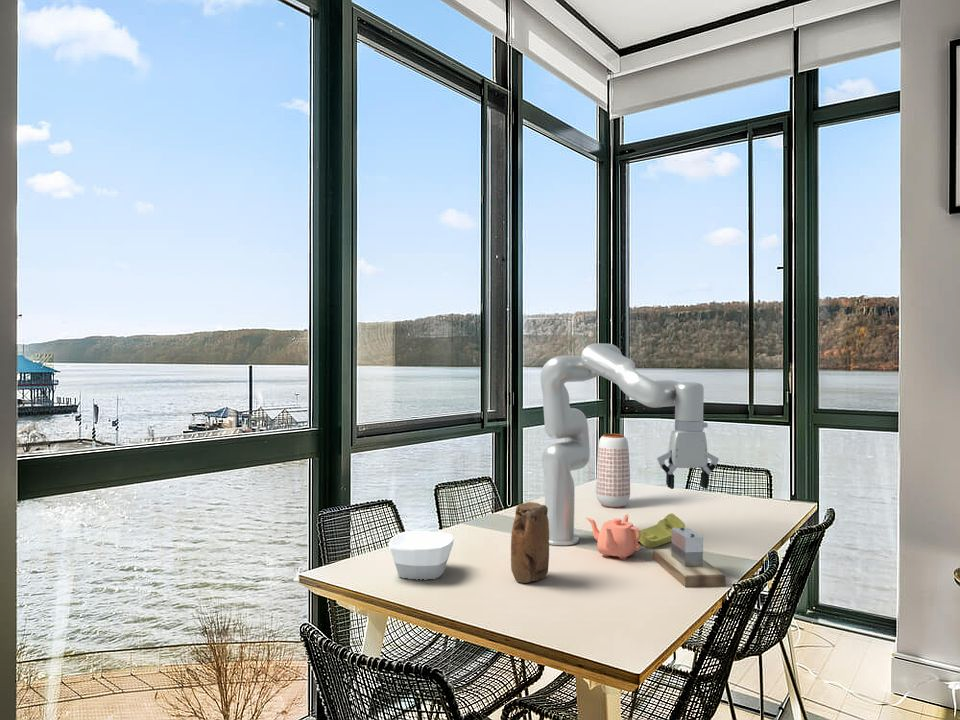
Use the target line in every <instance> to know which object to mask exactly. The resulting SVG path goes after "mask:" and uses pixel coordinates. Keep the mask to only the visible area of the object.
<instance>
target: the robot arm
mask: <svg viewBox="0 0 960 720" xmlns="http://www.w3.org/2000/svg"><path fill="white" fill-rule="evenodd" d="M600 376H601V377H602V378H604V379H606V380H609V381H610V382H611V383H613V384H616V385H617V386H618V387H619V389H620V390H621V391H622V392H623V394H625V395H626V396H627V397H629V398H631V399H632V400H633V401H636V402H637V403H640V404H642V405H643V406H646V407H648V408H651V409H652V408H654V409H655V408H663V407H665V408H666V407H668V408H669V407H675V408H674V430H671V432H670V436H669V441H668V449H667V452H666V453H664V454H662V455H660V456H659V457H657V458H656V459H657V462H658V465H660V468H661V469H662V470H663V471H664V473H665V475H666V477H665V478H666V479H665V484H666V486H667V488H668V489H671V490H673V489H675V475H674V472H675V471H676V469H677V468H678V469H697V468H698V469H701V471H702V472H701V473H700V487H701V488H703V489H705V490H707V489H709V488H708V486H709V485H710V475H711V474H712V471H713V470H715V468H716V466H717V464H718V463H719V460H720V459H719V457H717V456H715V455H713V454H712V453H709V451H708V444H707V443H708V442H707V441H708V440H707V437H706V432H705V431H704V430H705V428H708V426H709V425H708V422H705V421H704V398H705V395H704V393H705V392H704V391H705V390H704V385H703V384H702V383H700V382H693V381H692V382H687V381H686V382H685V381H684V382H682V381H676V380H670V379H669V380H667V379H666V380H662V379H661V380H653V379H650V378H649V377H647V376H644V375H643V374H641V373H639V372H637V371H636V364H635V362H634V361H633V360H632V359H630V358H629V357H626V356H624V355H623V354H622V351H621V350H620V348H619V347H618V346H617V345H615V344H612V343H599V342H598V343H590V344H588V345H586V346H585V347H584V348H583V349H582V351H581V354H580V355H558V356H554V357H552V358H550V359H548V360H547V361H546V362H545V364H544V365H543V367H542V368H541V372H540V377H539V378H540V385H541V386H540V387H541V393H542V401H543V402H542V403H543V404H542V405H543V407H542V408H543V418H544V419H543V420H544V429H545V434H546V435H547V436H548V437H549V438H550V439H556V440H559V439H564V440H563V441H562V442H557V443H552V444H550V445H549V446H547V447H546V448H545V449H544V451H543V453H542V456H541V463H542V468H543V473H544V505H545V506H547V508H548V512H547V517H548V520H549V545H550V546H551V545H553V546H572V545H576V544H578V543H579V542H580V538H579V536H578V535H576V534H575V493H576V492H575V482H574V478H573V476H572V473H571V472H572V471H576V470H581V469H583V468H585V467H586V466H587V465H588V463H589V461H590V457H591V455H590V453H591V452H590V450H591V449H590V436H589V423H588V419H587V417H586V415H585V414H584V412H583V411H582V410H580V409H578V408H575V407H571V405H570V396H569V395H570V394H569V392H568V391H569V390H568V389H567V387H566V385H565V383H571V382H573V383H574V382H578V383H579V382H585V381H589V380H592V379H595V378H597V377H600ZM708 459H709V460H710V463H709V464H708ZM666 460H667V463H668V465H666V463H665V461H666Z"/></svg>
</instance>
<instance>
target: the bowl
mask: <svg viewBox="0 0 960 720" xmlns="http://www.w3.org/2000/svg"><path fill="white" fill-rule="evenodd" d="M454 541H455V540H454V537H453V536H452V534H451V533H446V532H439V531H438V532H437V531H427V530H426V531H402V532H401V533H397V534H396V535H393V537H391V538H390V540H389V542H388V547H389V550H390V553H391V556H392V560H393V563H394V565H395V569H396V571H397V574H398V577H399V578H400V577H402V578H401V579H404V578H408V579H407V580H412V579H416V580H415V581H428V580H427V579H434V580H436V578H437V579H438V578H440V577H441V576H442V575H443V574H444V572H445V569H446V566H447V563H448V560H449V558H450V555H451V551H452V548H453V546H454ZM418 579H420V580H418ZM422 579H424V580H422Z"/></svg>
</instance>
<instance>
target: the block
mask: <svg viewBox="0 0 960 720" xmlns="http://www.w3.org/2000/svg"><path fill="white" fill-rule="evenodd" d="M547 512H548V508H547V506H545V504H541V503H538V502H533V501H528V502H525V503H519V504H518V505H517V506H516V508H515V516H514V519H513V524H512V528H511V536H510V538H511V539H510V569H511V573H512V574H513V577H514V580H515V582H517V583H518V582H519V583H523V584H525V583H532V582H536V581H540V580H543V579H544V578H546V576H548V573H549V566H550V565H549V563H550V544H549V520H548V517H547Z"/></svg>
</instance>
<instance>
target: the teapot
mask: <svg viewBox="0 0 960 720" xmlns="http://www.w3.org/2000/svg"><path fill="white" fill-rule="evenodd" d="M629 517H630V515H629V514H625V515H624V516H623V520H622V518H617V517H616V518H613V519H610V520H607V521H605V522H604V523H603V524H602V525H601V527H600V530H599V529H598V526H597V523H596V521H595V520H594V519H592V518H588V517H586V518H585V519H587V521H588V522H589V523H590V524H591V529H592V534H593V537H594V539H595V540H596V541H597V551H598V553H599V554H602V555H601V557H604V558H609V557H610V556H611V557H618V558H619V560H621V561H625V560H627V557H629V556H632V555H633V554H634V553H635V552H637V551H640V550H641V549H642V546H641V543H639V539H640V537H641V532H640V530H641V529H639V528H638V527H636V526H634V523H632V522H629ZM633 526H634V527H633ZM635 531H637V533H638V536H637V539H636V533H635Z"/></svg>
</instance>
